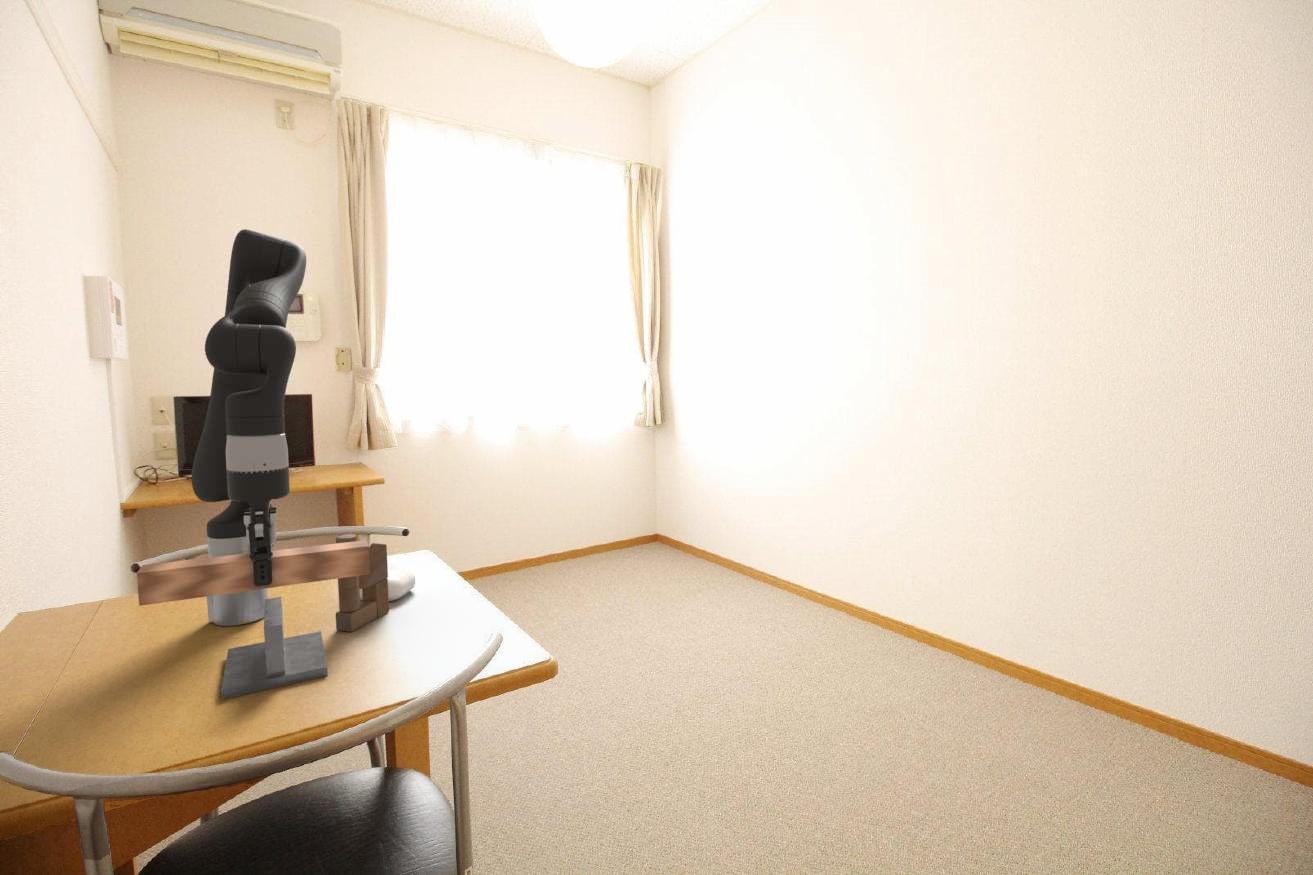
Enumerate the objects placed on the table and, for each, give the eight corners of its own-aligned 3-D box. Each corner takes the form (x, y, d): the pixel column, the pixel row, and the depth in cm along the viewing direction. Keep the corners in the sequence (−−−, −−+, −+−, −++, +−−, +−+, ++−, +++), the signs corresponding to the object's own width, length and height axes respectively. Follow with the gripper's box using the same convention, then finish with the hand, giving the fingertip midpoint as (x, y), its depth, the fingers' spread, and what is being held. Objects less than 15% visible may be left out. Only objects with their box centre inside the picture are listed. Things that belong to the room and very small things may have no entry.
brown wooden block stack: (390, 611, 126) (386, 525, 124) (351, 633, 116) (346, 539, 114) (374, 609, 127) (370, 524, 125) (335, 631, 117) (330, 538, 115)
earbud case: (398, 606, 129) (397, 581, 129) (339, 604, 131) (338, 579, 130) (421, 589, 140) (420, 566, 139) (366, 587, 141) (365, 564, 140)
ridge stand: (327, 675, 99) (324, 618, 98) (221, 699, 92) (217, 638, 91) (321, 639, 113) (318, 588, 112) (228, 657, 106) (224, 603, 105)
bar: (139, 605, 82) (136, 573, 82) (144, 596, 85) (142, 565, 85) (369, 574, 96) (368, 546, 96) (367, 567, 99) (366, 540, 99)
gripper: (288, 471, 85) (293, 592, 87) (288, 456, 97) (293, 562, 99) (221, 474, 81) (229, 601, 83) (230, 459, 93) (236, 569, 95)
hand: (263, 579), depth 91 cm, fingers closed on bar, 3 cm apart
